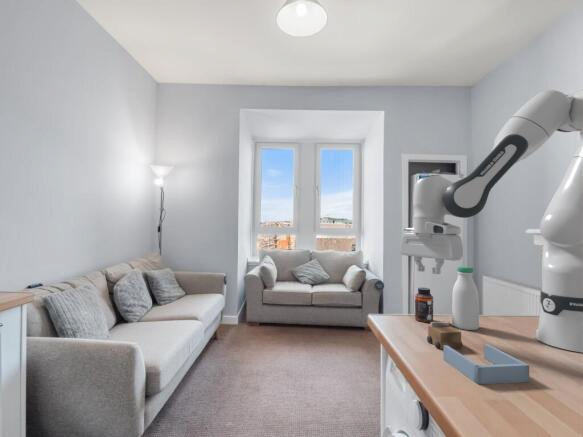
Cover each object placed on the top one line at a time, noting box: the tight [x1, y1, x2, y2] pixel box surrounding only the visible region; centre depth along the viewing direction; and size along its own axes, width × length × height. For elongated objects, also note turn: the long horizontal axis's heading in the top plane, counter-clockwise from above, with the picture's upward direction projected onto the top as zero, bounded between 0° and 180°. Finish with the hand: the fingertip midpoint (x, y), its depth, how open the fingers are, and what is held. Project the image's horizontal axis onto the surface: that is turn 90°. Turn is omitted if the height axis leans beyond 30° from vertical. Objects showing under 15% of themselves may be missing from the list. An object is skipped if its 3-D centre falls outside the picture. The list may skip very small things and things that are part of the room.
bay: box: [442, 343, 530, 385], centre depth 71 cm, size 12×12×4 cm
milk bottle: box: [451, 265, 480, 331], centre depth 102 cm, size 8×8×20 cm
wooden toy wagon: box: [426, 321, 464, 350], centre depth 86 cm, size 7×6×6 cm
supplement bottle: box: [414, 287, 434, 323], centre depth 109 cm, size 6×6×11 cm
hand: (428, 272), depth 94 cm, fingers open, 4 cm apart
